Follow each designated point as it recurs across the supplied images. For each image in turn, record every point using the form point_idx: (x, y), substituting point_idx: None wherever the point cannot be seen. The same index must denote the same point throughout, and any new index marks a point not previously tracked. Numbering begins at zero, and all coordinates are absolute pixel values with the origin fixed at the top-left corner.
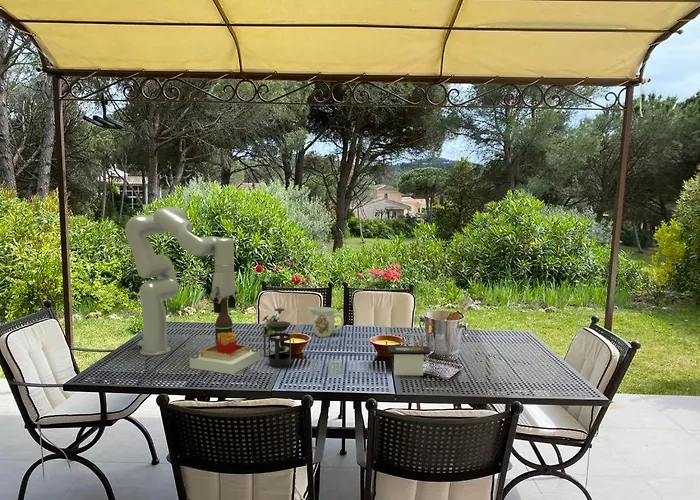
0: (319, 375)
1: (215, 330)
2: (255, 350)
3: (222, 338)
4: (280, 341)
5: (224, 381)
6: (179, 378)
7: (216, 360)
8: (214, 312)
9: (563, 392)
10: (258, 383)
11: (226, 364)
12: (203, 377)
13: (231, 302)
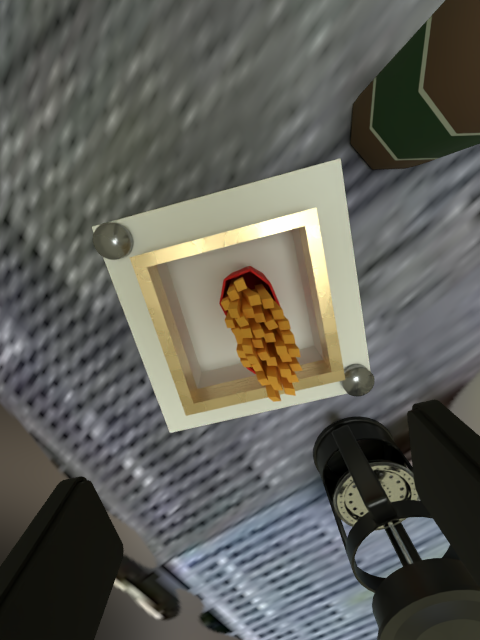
0: (330, 580)
1: (413, 37)
2: (347, 392)
3: (231, 330)
4: (359, 571)
5: (119, 435)
6: (19, 300)
7: (157, 352)
8: (68, 485)
9: None
10: (178, 512)
11: (162, 407)
12: (90, 358)
13: (476, 543)
